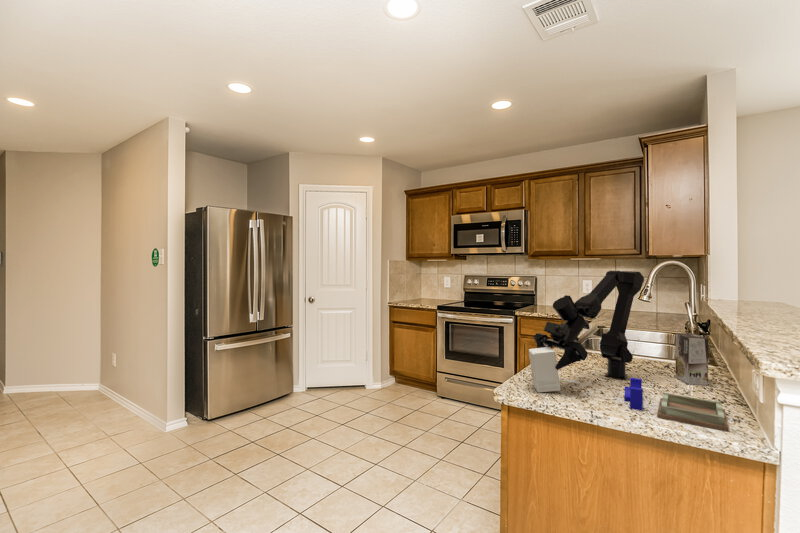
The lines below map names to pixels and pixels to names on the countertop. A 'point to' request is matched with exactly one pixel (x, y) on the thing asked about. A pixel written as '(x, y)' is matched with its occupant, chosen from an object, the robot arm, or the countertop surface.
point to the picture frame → (693, 411)
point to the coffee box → (692, 358)
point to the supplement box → (544, 369)
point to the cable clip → (634, 394)
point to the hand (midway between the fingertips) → (545, 365)
